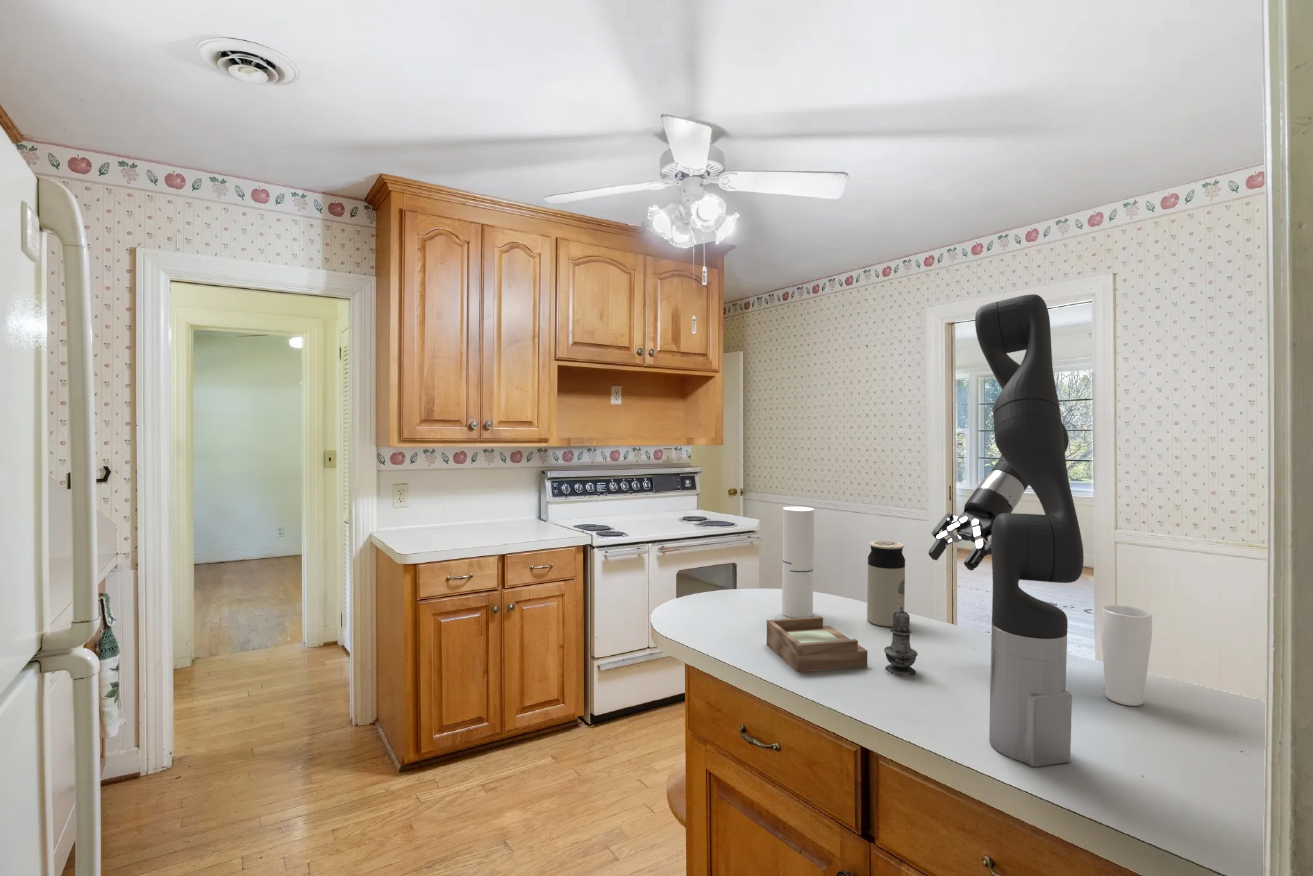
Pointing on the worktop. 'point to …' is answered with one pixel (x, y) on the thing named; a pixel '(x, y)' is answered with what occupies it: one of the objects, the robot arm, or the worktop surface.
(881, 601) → the travel mug
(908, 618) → the salt shaker
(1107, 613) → the drinking glass
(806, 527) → the cylindrical container
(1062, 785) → the worktop surface
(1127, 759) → the worktop surface
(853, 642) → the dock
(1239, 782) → the worktop surface
